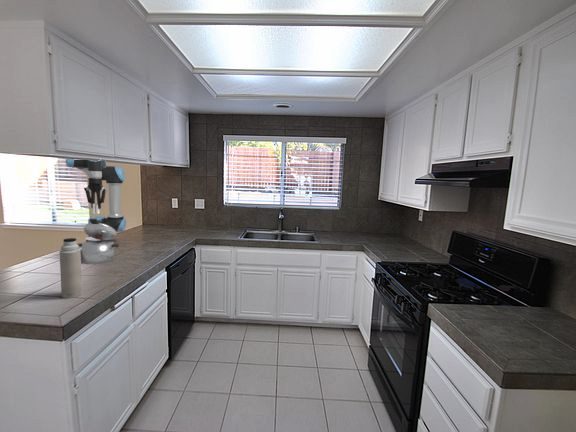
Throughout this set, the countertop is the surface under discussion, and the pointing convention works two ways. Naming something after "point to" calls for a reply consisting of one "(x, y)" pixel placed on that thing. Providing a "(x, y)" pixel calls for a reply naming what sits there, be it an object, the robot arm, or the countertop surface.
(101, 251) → the cooker pot
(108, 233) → the cooker lid
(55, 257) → the countertop surface
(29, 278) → the countertop surface
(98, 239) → the plastic cup
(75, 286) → the thermos bottle
